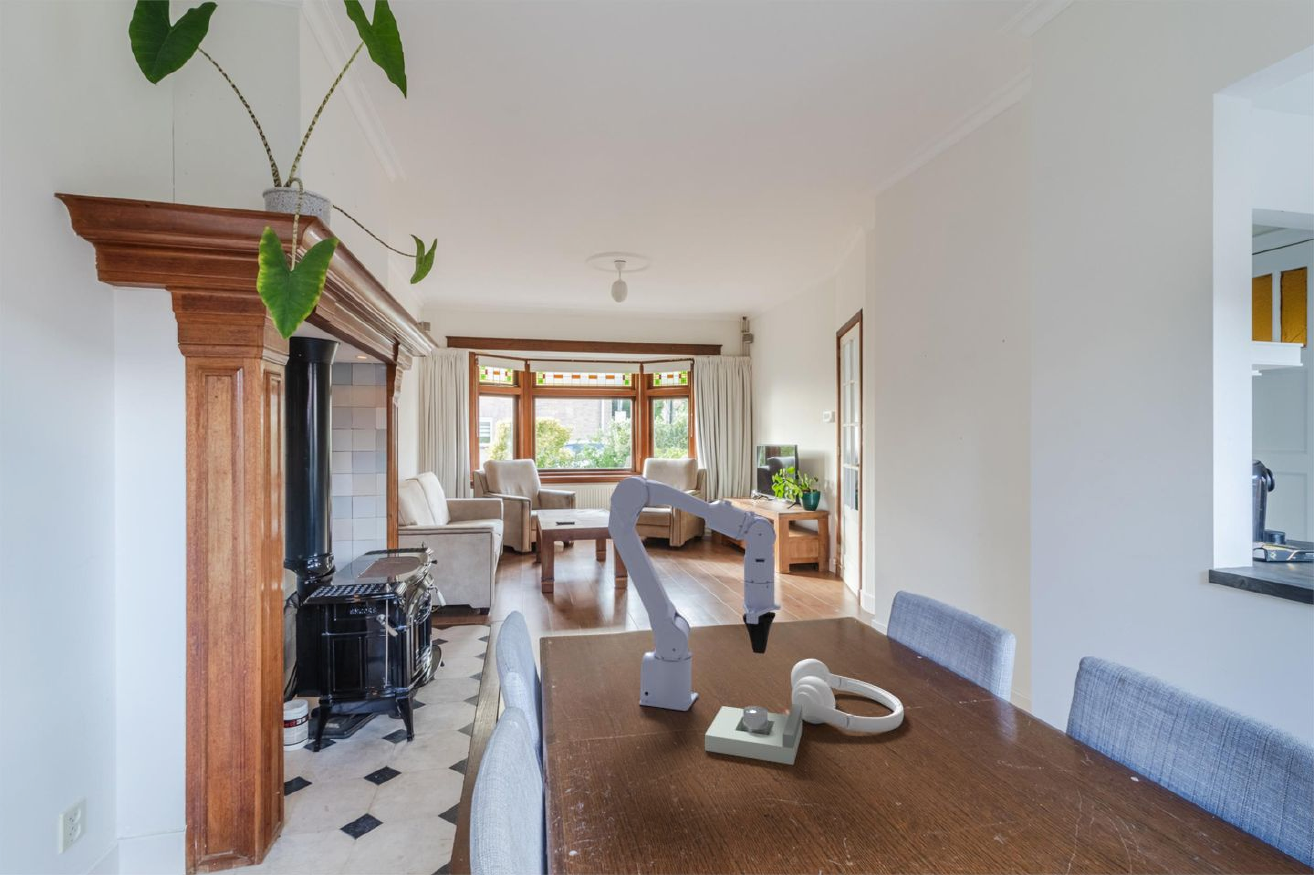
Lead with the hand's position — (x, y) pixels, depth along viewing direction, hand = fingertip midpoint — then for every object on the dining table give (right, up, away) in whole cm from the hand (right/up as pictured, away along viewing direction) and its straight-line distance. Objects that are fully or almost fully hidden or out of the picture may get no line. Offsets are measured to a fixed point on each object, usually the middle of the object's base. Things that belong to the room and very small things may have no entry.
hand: (759, 652), depth 120 cm
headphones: (+16, -10, -4) cm, 19 cm away
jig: (-3, -10, -15) cm, 18 cm away
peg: (-3, -10, -15) cm, 18 cm away
